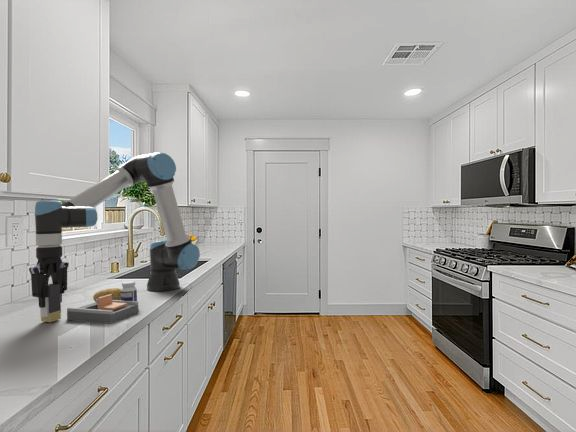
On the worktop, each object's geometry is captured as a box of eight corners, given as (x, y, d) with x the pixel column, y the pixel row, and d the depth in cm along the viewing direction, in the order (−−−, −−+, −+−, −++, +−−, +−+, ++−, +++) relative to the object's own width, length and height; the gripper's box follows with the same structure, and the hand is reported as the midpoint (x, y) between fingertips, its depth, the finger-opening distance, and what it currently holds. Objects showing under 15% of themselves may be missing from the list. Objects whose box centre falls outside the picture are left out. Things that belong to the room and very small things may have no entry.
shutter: (111, 304, 137) (110, 294, 137) (127, 305, 135) (126, 294, 135) (96, 309, 130) (96, 298, 130) (113, 310, 128) (112, 299, 128)
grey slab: (97, 309, 142) (97, 299, 142) (138, 312, 138) (138, 301, 138) (67, 319, 129) (67, 308, 129) (110, 323, 124) (110, 311, 124)
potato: (124, 304, 150) (124, 288, 150) (93, 307, 145) (93, 291, 145) (123, 301, 156) (123, 286, 156) (93, 304, 151) (93, 288, 151)
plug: (51, 318, 130) (50, 283, 130) (60, 318, 129) (60, 284, 128) (41, 321, 126) (40, 285, 126) (50, 322, 125) (49, 286, 125)
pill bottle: (130, 305, 148) (129, 280, 148) (140, 306, 146) (140, 281, 146) (117, 308, 143) (117, 282, 143) (127, 310, 141) (127, 284, 141)
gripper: (61, 243, 136) (63, 307, 137) (16, 248, 120) (18, 321, 120) (78, 243, 134) (80, 308, 135) (34, 248, 118) (36, 322, 118)
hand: (51, 314), depth 127 cm, fingers closed on plug, 4 cm apart
